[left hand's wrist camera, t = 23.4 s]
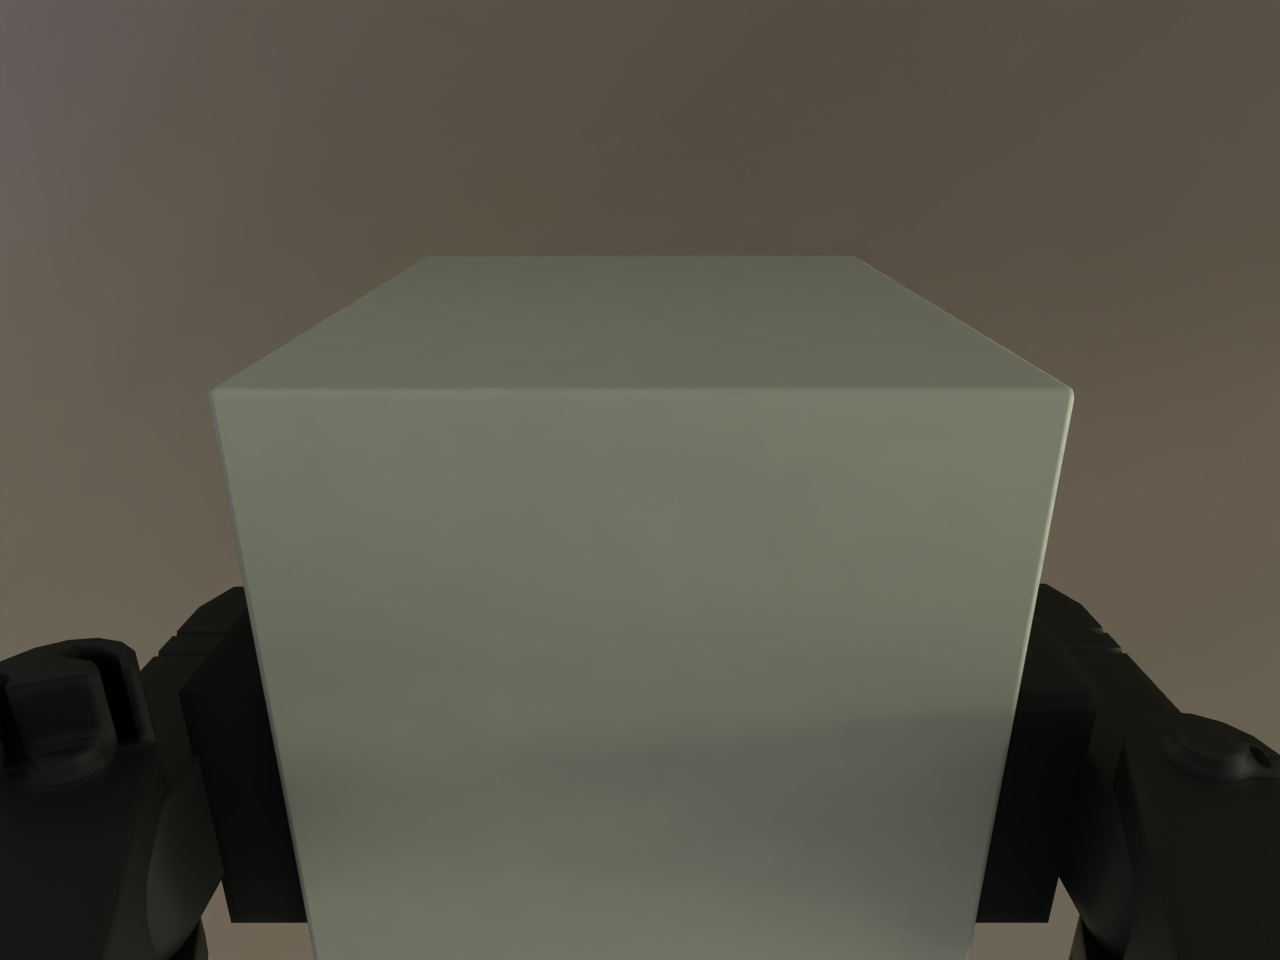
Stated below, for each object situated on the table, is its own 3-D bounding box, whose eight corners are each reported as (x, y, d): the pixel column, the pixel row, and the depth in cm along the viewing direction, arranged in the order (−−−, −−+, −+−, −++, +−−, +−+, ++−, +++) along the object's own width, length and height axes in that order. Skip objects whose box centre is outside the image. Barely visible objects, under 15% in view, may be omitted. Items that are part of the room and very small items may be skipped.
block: (856, 255, 13) (1081, 389, 7) (816, 704, 17) (942, 1116, 10) (424, 255, 13) (201, 390, 7) (465, 705, 17) (341, 1116, 10)
